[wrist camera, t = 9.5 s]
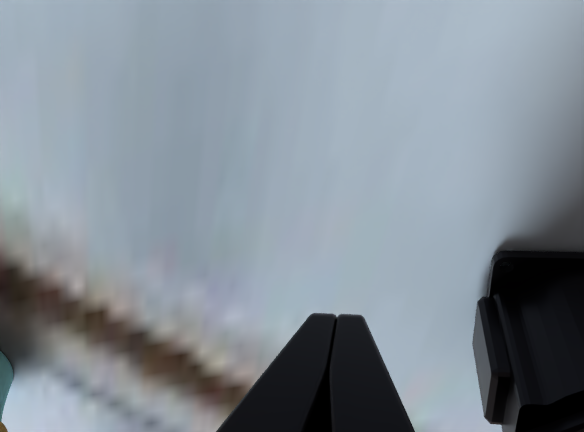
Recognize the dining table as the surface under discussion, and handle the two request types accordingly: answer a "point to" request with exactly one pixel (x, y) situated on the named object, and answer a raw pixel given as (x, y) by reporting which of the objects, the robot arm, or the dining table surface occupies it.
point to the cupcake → (4, 384)
